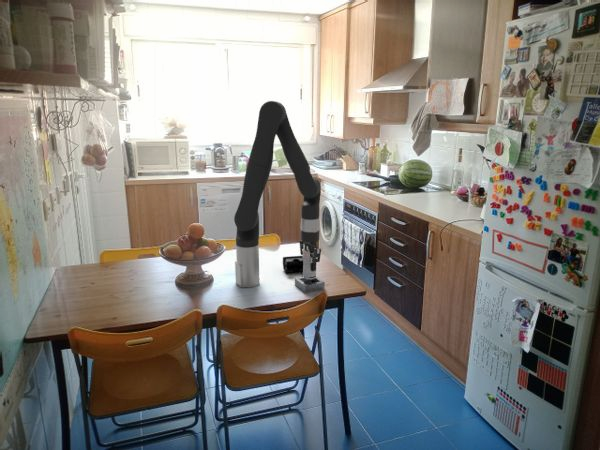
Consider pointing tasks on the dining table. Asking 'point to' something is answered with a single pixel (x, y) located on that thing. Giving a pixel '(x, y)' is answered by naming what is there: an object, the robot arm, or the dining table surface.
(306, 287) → the metal collar
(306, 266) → the energy drink
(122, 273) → the dining table surface
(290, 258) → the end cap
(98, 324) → the dining table surface
